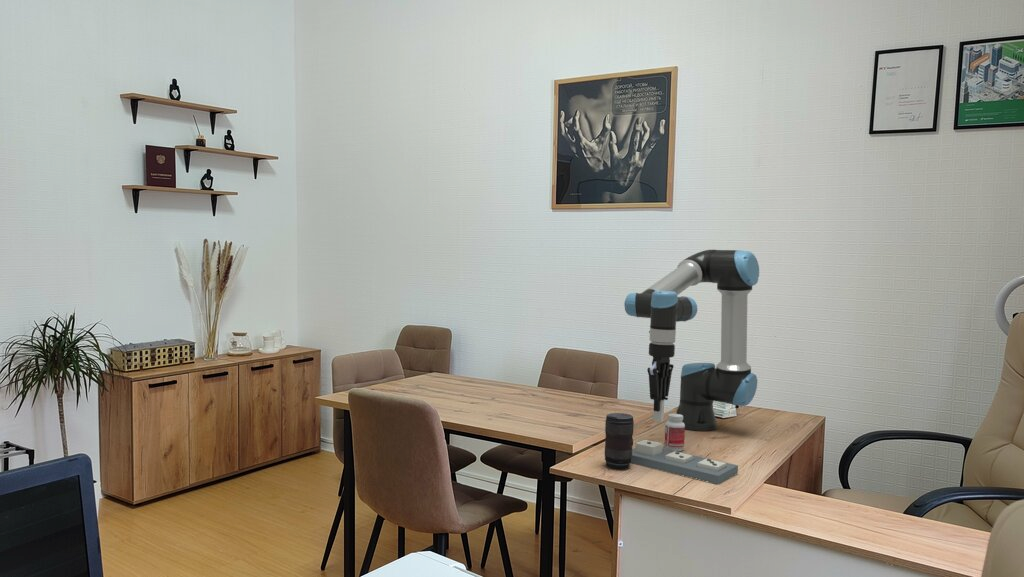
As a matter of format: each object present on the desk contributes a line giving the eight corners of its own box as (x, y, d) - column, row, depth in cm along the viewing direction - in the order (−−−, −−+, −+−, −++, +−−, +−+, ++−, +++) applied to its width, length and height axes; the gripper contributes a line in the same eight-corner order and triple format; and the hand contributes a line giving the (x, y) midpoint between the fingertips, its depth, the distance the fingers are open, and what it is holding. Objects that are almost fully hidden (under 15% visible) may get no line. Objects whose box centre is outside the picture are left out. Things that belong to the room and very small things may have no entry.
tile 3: (705, 470, 210) (706, 457, 210) (725, 474, 206) (726, 461, 206) (696, 474, 206) (697, 461, 205) (716, 479, 202) (717, 466, 202)
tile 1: (644, 450, 223) (645, 438, 222) (662, 454, 219) (662, 442, 219) (634, 454, 218) (635, 442, 218) (652, 458, 214) (653, 446, 214)
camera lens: (614, 460, 216) (617, 411, 215) (637, 467, 210) (639, 416, 209) (597, 465, 210) (600, 414, 209) (620, 472, 205) (622, 420, 204)
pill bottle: (687, 450, 231) (689, 416, 230) (674, 452, 227) (676, 418, 227) (673, 445, 236) (675, 412, 235) (659, 447, 233) (661, 413, 232)
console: (644, 451, 227) (645, 444, 227) (737, 473, 208) (738, 465, 208) (621, 460, 216) (622, 452, 216) (717, 484, 197) (718, 475, 197)
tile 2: (674, 462, 216) (674, 450, 216) (692, 467, 213) (693, 454, 212) (664, 466, 212) (665, 454, 212) (683, 471, 208) (684, 458, 208)
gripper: (660, 339, 223) (656, 415, 224) (640, 343, 212) (636, 422, 214) (683, 342, 218) (678, 420, 219) (664, 346, 208) (659, 427, 209)
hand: (657, 421), depth 216 cm, fingers closed
